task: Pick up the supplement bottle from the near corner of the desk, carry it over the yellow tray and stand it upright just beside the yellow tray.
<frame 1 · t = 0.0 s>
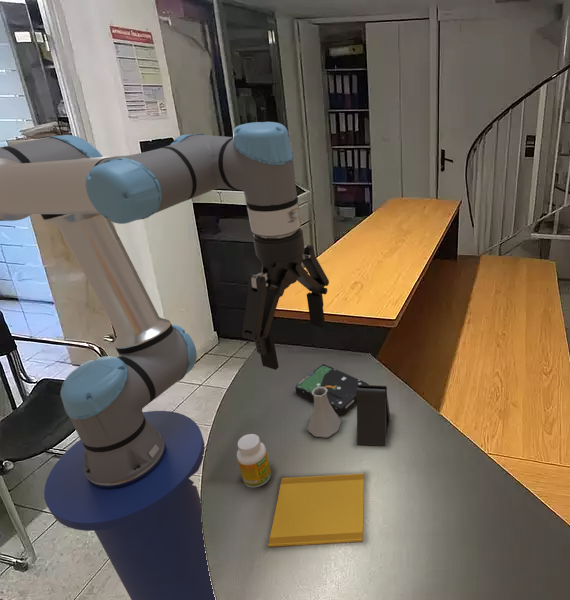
hand: (295, 344, 84), 28 cm above the table, tool pointing down, fingers open, 13 cm apart
yellow tray: (319, 508, 88), on the table
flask: (324, 426, 107), on the table
supplement bottle: (257, 477, 95), on the table
phone stand: (374, 430, 105), on the table
disk drive: (332, 393, 116), on the table
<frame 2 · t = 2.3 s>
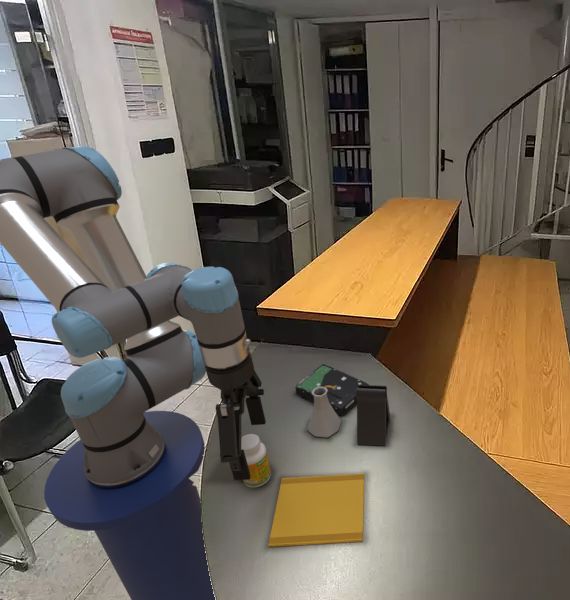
hand: (251, 449, 91), 8 cm above the table, tool pointing down, fingers open, 13 cm apart
nothing on the table moved.
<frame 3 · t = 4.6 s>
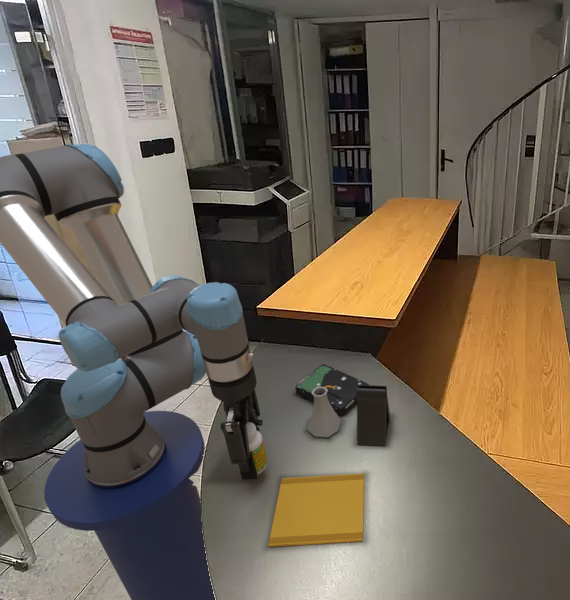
hand: (253, 464, 94), 3 cm above the table, tool pointing down, fingers closed on supplement bottle, 5 cm apart
supplement bottle: (253, 466, 94), point 3 cm above the table, touching gripper
everything else where it was.
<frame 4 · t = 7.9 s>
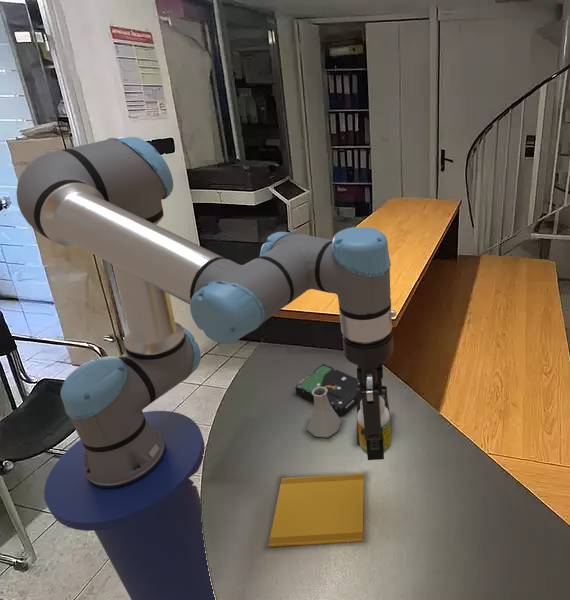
hand: (375, 444, 83), 14 cm above the table, tool pointing down, fingers closed on supplement bottle, 5 cm apart
supplement bottle: (375, 445, 83), point 14 cm above the table, touching gripper
everything else where it was.
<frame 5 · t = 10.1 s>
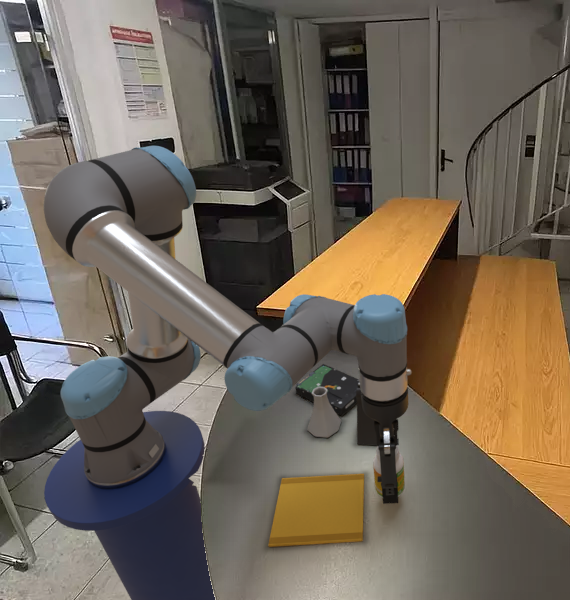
hand: (390, 487, 88), 4 cm above the table, tool pointing down, fingers closed on supplement bottle, 5 cm apart
supplement bottle: (390, 488, 88), point 3 cm above the table, touching gripper
everything else where it was.
when the fingers open (0 cm above the table, at t = 11.3 s): supplement bottle stays where it is, on the table.
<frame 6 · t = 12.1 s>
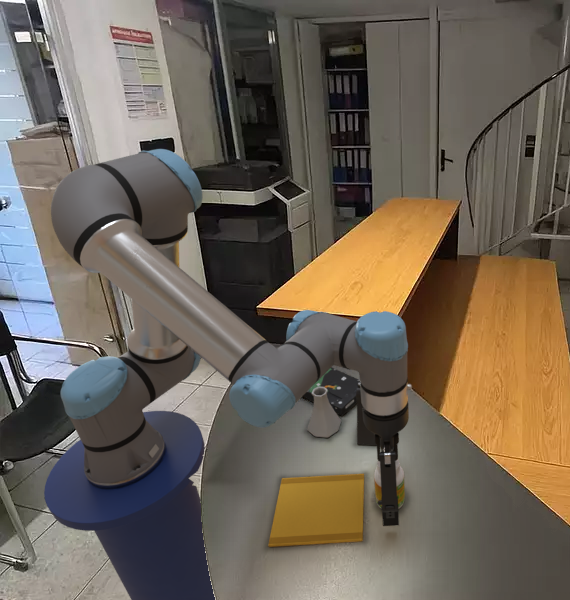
hand: (389, 490, 88), 2 cm above the table, tool pointing down, fingers open, 13 cm apart
supplement bottle: (390, 500, 90), on the table
everything else where it was.
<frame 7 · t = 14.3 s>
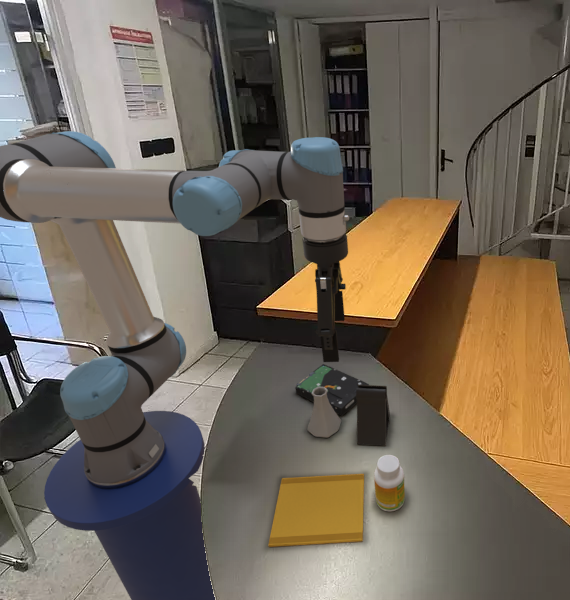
hand: (334, 339, 92), 25 cm above the table, tool pointing down, fingers open, 13 cm apart
nothing on the table moved.
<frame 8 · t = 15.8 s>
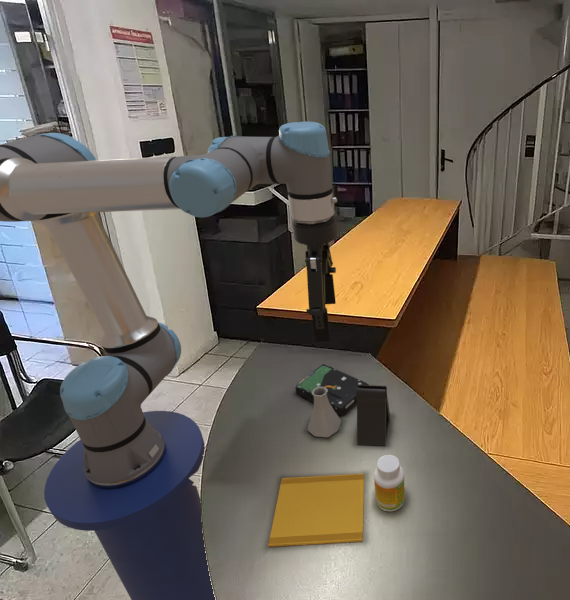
hand: (326, 320, 94), 27 cm above the table, tool pointing down, fingers open, 13 cm apart
nothing on the table moved.
at the end: supplement bottle inside the target area on the table beside the yellow tray (1.4 cm from its centre), on the table; supplement bottle tilted 0°; the gripper is holding nothing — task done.
